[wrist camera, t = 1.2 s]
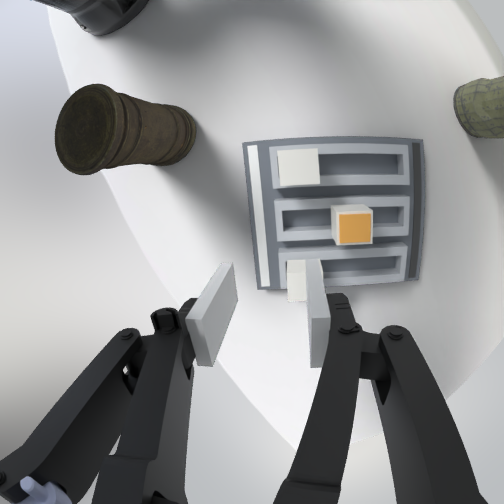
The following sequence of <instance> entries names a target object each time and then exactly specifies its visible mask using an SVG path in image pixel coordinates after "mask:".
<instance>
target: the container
mask: <svg viewBox="0 0 504 504" xmlns="http://www.w3.org/2000/svg"><path fill="white" fill-rule="evenodd" d="M195 137H196V127H195V123H194V121H193V119H192V117H191V116H190V115H189V114H188V113H187V112H186V111H185V110H184V109H182V108H180V107H177V106H172V105H165V104H164V105H162V104H157V103H150V102H147V101H144V100H141V99H137V98H134V97H131V96H129V95H127V94H124V93H117V92H115V91H114V90H113V89H111V88H110V87H108V86H106V85H103V84H91V85H87V86H84V87H82V88H80V89H79V90H77V91H76V92H75V93H74V94H72V95H71V97H70V98H69V99H68V100H67V101H66V103H65V104H64V106H63V108H62V110H61V112H60V114H59V117H58V120H57V124H56V129H55V147H56V152H57V155H58V157H59V159H60V161H61V163H62V164H63V166H64V167H65V168H66V169H67V170H69V171H70V172H72V173H75V174H78V175H91V174H94V173H96V172H98V171H100V170H101V169H111V168H115V167H118V166H124V165H131V164H145V165H148V164H150V165H156V166H167V165H171V164H174V163H176V162H178V161H180V160H181V159H182V158H184V157H185V156H186V155H187V153H188V152H189V151H190V149H191V148H192V146H193V143H194V141H195Z"/></svg>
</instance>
